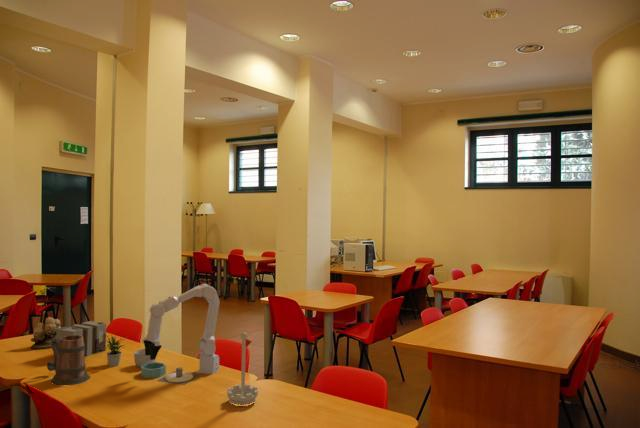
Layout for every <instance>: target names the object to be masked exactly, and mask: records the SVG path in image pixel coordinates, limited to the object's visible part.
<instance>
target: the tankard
mask: <svg viewBox="0 0 640 428" xmlns="http://www.w3.org/2000/svg"><path fill="white" fill-rule="evenodd" d="M51 349H52V352H53V356H54V357H53V358H54V359H53V360H51V361H47V363H46V368H47V370H48V371H49V372H52V371H54V372H55V375H54V376H53V377H52V379H51V380H50V381H51V383H53V384H56V385H55V386H57V385H69V386H75V384H76V385H80V384H83V383H86V382H88V380H90V378H91V377H90V375H88V372H87V371H86V365H87V364H86V360H85V359H86V356H85V344H84V339H83V336H81V335H74V336H65V337H61V338H60V339H57V340H53V341H52V348H51ZM51 383H50V384H51ZM53 384H52V385H53Z"/></svg>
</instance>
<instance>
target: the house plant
mask: <svg viewBox="0 0 640 428" xmlns="http://www.w3.org/2000/svg"><path fill="white" fill-rule="evenodd" d="M110 336H111V339H110V337H109V336H108V335H107V334H106V341H105V342H106V343H107V344H106V348H103V350H104V349H106V350H107V348H108V349H109V350H110V351H109V350H108V352H107V353H106V357H107V365H108V367H118V366H119V365H120V361H121V357H122V351H121V350H122V349H123V347H126V346H125V345H124V344H122V345H121V343H122V342H123V341H124V340H125V339H126V338H128V336H127V337H125V338H123V336H122V337H121V338H120V339H118V340H116V337H115V336H114V335H113V334H111V335H110ZM122 338H123V339H122ZM99 339H102V338H99Z"/></svg>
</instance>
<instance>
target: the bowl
mask: <svg viewBox="0 0 640 428" xmlns="http://www.w3.org/2000/svg"><path fill="white" fill-rule="evenodd" d="M166 372H167V365H166V364H165V363H163V362H159V361H158V362H156V361H155V362H154V363H146V364H144V365H142V366H141V368H140V376H141V377H142V378H145V379H158V378H162V377H164V376H166V374H167V373H166Z"/></svg>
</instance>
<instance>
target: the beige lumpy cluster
mask: <svg viewBox="0 0 640 428" xmlns="http://www.w3.org/2000/svg"><path fill="white" fill-rule="evenodd" d="M45 323H46V324H44V323H43V322H38V323H36V325H35V328H34V330H33V333H32V336H33V337H31V338H30V342H33V344H32V345H31V346H30V349H31V350H35V351H38V350H49V349H52V341H53V340H56V336H57V329H58V328H62V326H61V325H62V323H61V320H60V319H57V318H53V317H50V316H48V317H47V318H45Z"/></svg>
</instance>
